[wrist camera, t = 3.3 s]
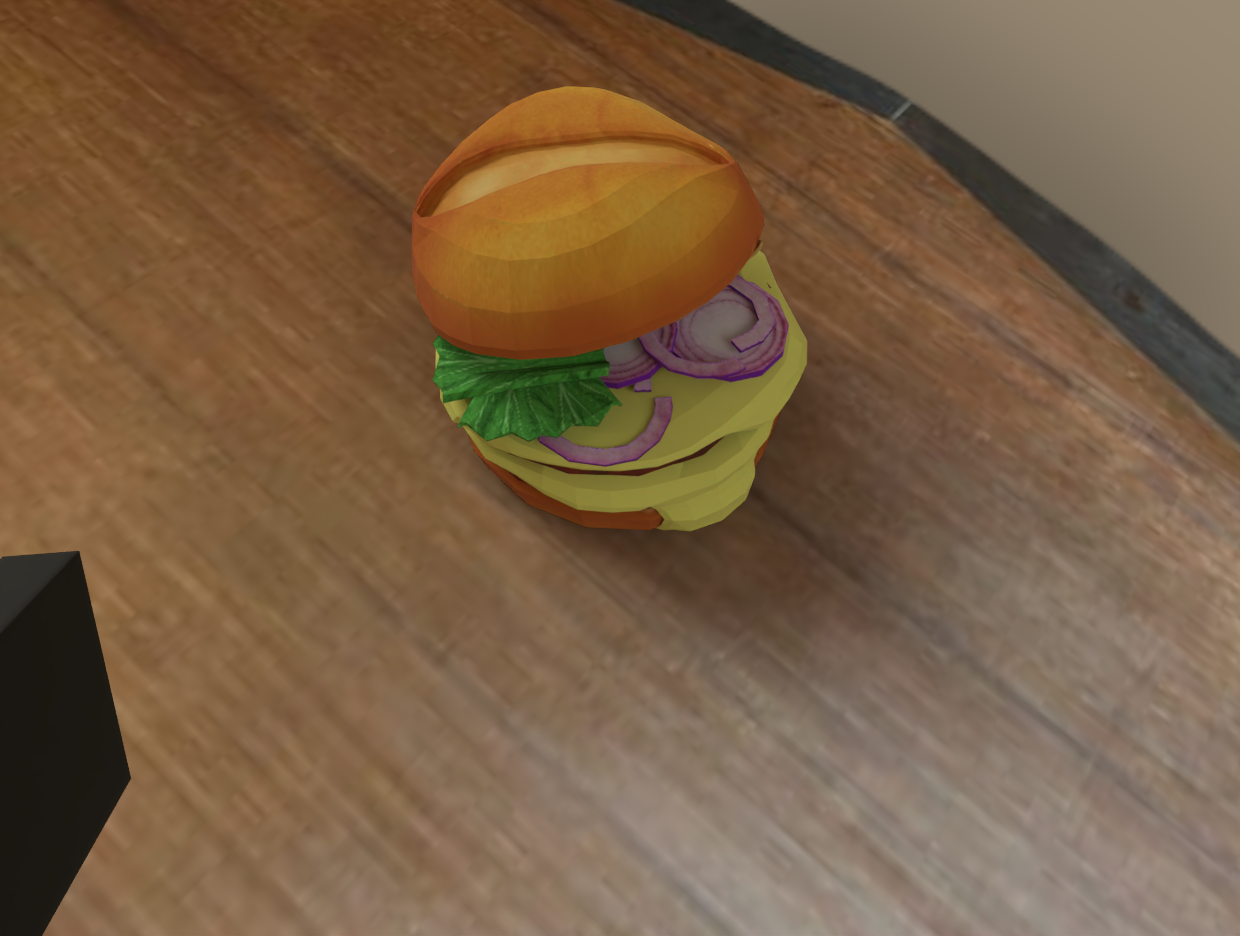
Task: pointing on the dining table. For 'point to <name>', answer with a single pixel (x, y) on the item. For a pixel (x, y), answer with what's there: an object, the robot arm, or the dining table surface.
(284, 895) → the dining table surface
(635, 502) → the cheeseburger
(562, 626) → the dining table surface
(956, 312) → the dining table surface
